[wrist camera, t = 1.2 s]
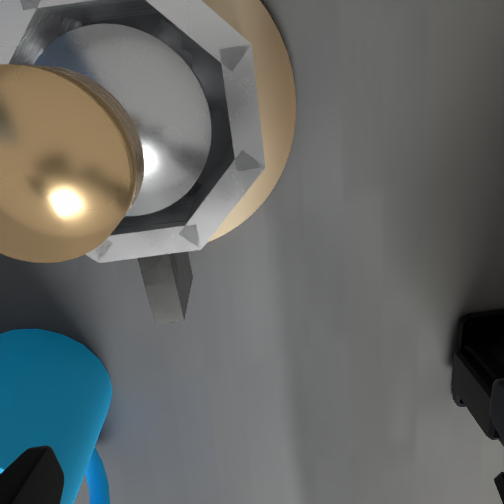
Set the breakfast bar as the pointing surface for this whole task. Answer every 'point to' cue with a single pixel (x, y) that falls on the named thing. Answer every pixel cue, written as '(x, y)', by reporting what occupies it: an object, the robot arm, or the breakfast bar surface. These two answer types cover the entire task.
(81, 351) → the mug
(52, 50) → the plunger
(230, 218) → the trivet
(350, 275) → the breakfast bar surface
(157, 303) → the grey piece
